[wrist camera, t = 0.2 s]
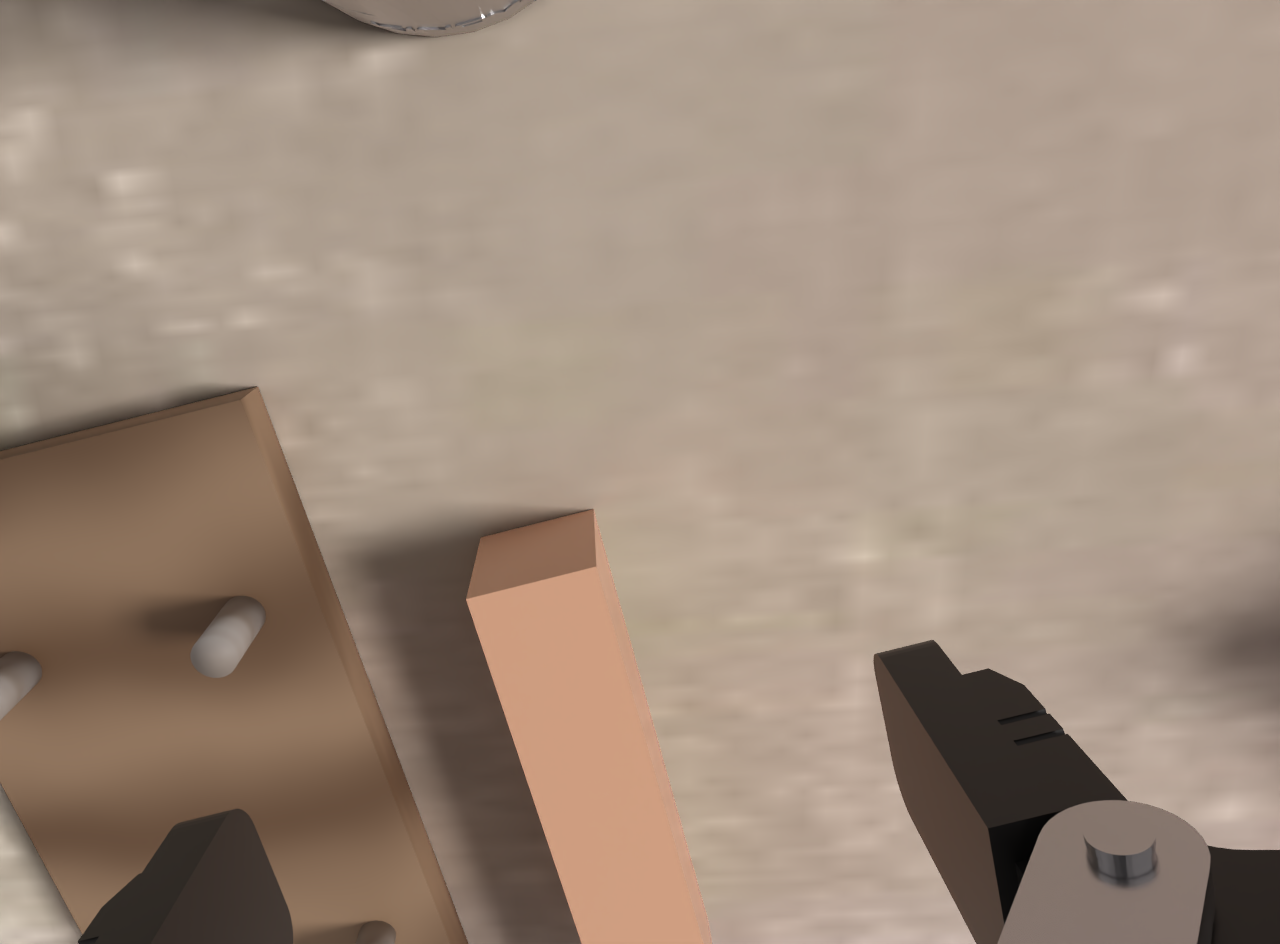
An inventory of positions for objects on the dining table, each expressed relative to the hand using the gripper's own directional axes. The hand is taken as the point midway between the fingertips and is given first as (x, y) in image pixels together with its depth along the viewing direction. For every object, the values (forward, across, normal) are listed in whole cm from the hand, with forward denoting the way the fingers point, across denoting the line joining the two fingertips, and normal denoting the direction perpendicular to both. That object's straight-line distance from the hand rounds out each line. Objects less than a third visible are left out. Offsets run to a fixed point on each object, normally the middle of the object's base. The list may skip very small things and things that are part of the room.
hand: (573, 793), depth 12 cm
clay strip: (+18, +2, +10) cm, 21 cm away
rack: (+18, +14, +8) cm, 24 cm away
